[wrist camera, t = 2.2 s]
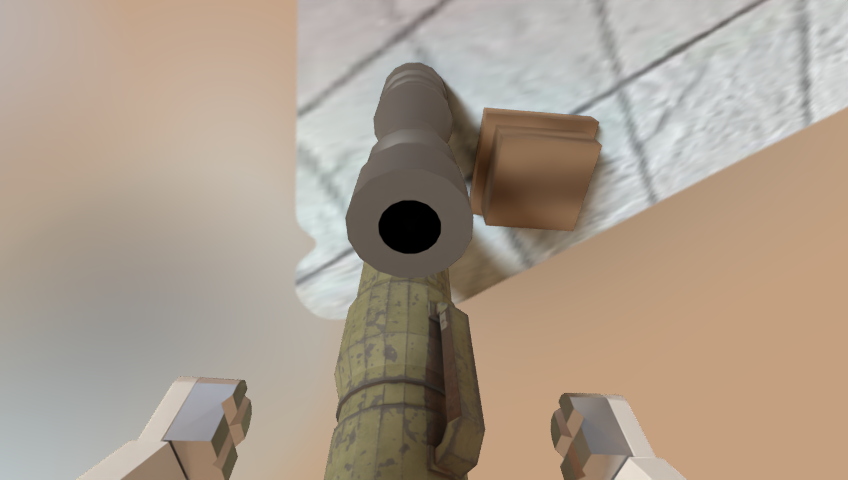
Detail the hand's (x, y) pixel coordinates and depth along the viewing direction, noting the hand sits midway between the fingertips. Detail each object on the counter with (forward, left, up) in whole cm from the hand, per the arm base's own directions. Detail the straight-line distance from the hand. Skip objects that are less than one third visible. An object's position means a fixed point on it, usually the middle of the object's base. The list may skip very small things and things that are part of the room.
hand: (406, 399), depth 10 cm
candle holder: (0, 0, -34) cm, 34 cm away
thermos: (+13, 0, -34) cm, 36 cm away
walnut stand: (+6, +13, -34) cm, 36 cm away
